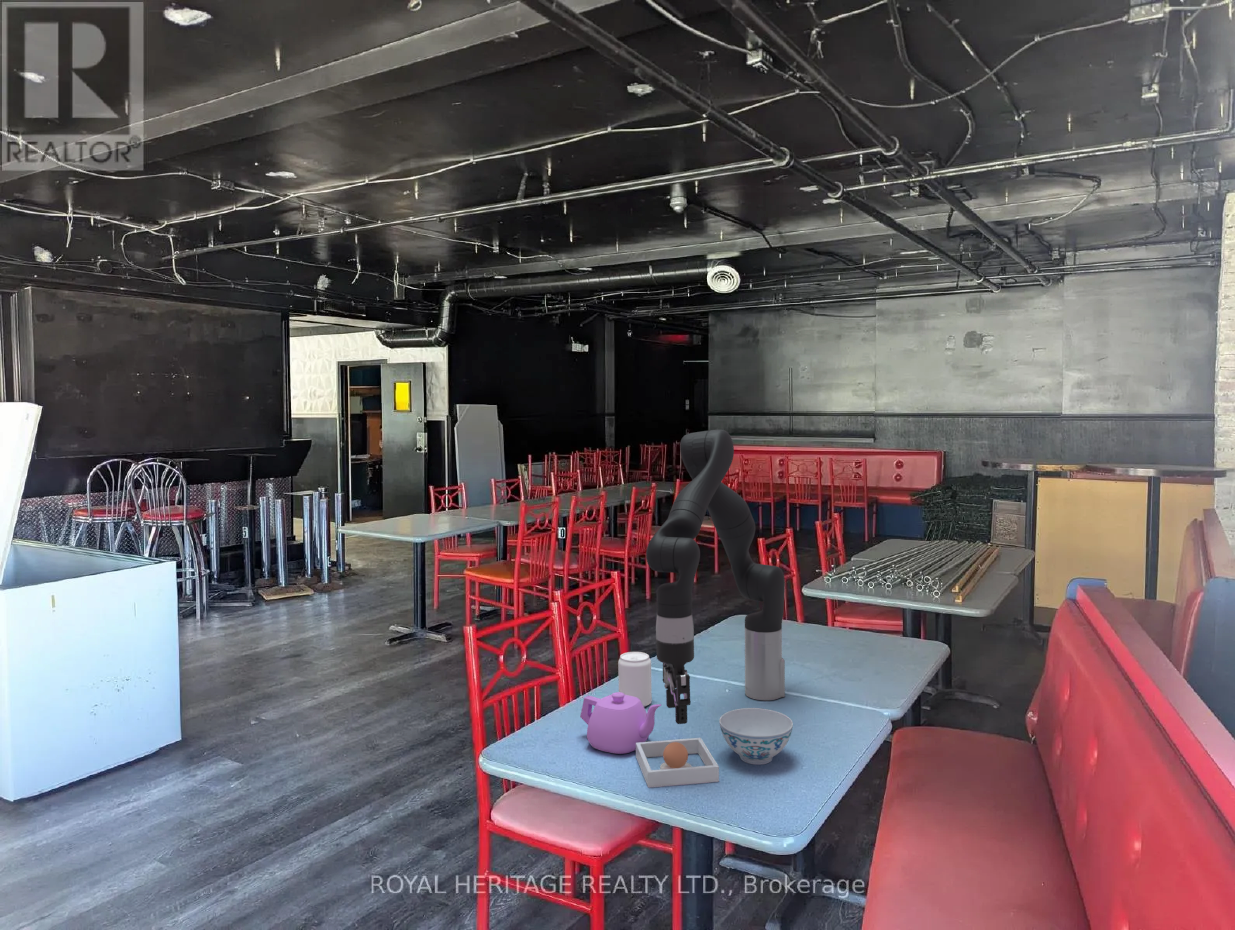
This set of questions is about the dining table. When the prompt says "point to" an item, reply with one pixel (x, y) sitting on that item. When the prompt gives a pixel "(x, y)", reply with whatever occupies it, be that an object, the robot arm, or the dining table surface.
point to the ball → (675, 755)
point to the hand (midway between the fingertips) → (676, 714)
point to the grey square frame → (677, 774)
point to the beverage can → (635, 676)
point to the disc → (665, 766)
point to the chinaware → (756, 733)
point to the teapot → (617, 722)
